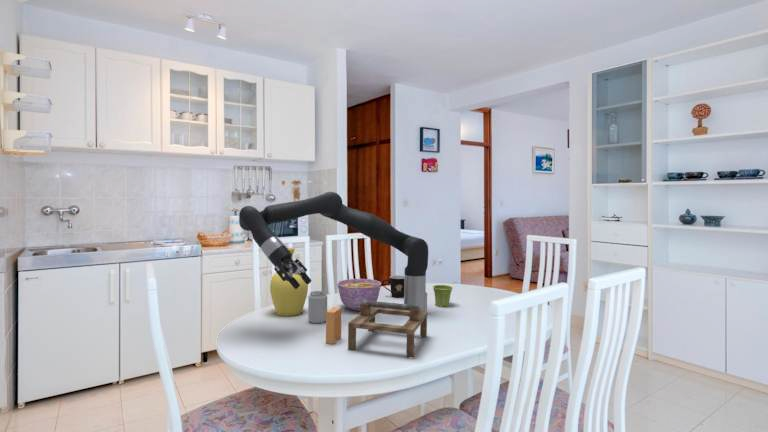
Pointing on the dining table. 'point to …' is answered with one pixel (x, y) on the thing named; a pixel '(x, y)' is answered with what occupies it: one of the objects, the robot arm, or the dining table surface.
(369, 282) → the bowl of food
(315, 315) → the can
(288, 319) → the dining table surface
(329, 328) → the orange two-legged bench
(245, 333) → the dining table surface
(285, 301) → the vase
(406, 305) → the wooden slider frame
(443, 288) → the plant pot
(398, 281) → the coffee mug
